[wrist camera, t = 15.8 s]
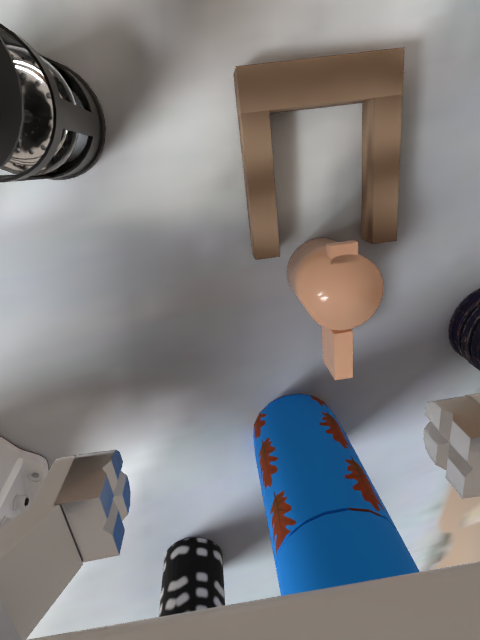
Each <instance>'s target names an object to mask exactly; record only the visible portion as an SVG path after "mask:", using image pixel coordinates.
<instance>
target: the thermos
mask: <svg viewBox="0 0 480 640" xmlns="http://www.w3.org/2000/svg"><path fill="white" fill-rule="evenodd" d="M253 437H254V446H255V456H256V462H257V468H258V473H259V478H260V484H261V489H262V495H263V500H264V506H265V511H266V516H267V522H268V527H269V533H270V538H271V543H272V549H273V554H274V560H275V565H276V568H277V569H276V570H277V576H278V581H279V587H280V592H281V596H283V595H289V594H295V593H301V592H307V591H312V590H318V589H324V588H330V587H335V586H341V585H347V584H353V583H359V582H364V581H370V580H376V579H382V578H388V577H393V576H399V575H405V574H411V573H417V572H419V570H418V568H417V566H416V564H415V562H414V560H413V559H412V557H411V555H410V553H409V551H408V549H407V547H406V546H405V544H404V542H403V540H402V538H401V536H400V534H399V532H398V531H397V529H396V527H395V525H394V523H393V521H392V519H391V518H390V516H389V514H388V512H387V510H386V508H385V506H384V505H383V503H382V501H381V499H380V497H379V495H378V493H377V491H376V490H375V488H374V486H373V484H372V482H371V480H370V478H369V477H368V475H367V473H366V471H365V469H364V467H363V465H362V464H361V462H360V460H359V458H358V456H357V454H356V452H355V450H354V449H353V447H352V445H351V443H350V441H349V439H348V437H347V436H346V434H345V432H344V430H343V428H342V427H341V425H340V424H339V422H338V421H337V419H336V417H335V416H334V414H333V413H332V411H331V410H330V409H329V408H328V406H327V405H326V404H325V403H324V402H323V401H321V400H319V399H317V398H315V397H313V396H310V395H303V394H294V395H288V396H283V397H281V398H279V399H277V400H275V401H273V402H271V403H269V404H268V405H267V406H266V407H265V408H264V409H263V410H262V411H261V412H260V413H259V416H258V418H257V420H256V422H255V424H254V435H253Z"/></svg>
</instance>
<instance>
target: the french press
mask: <svg viewBox="0 0 480 640" xmlns="http://www.w3.org/2000/svg"><path fill="white" fill-rule="evenodd" d="M70 89H71V90H72V91H73V92H74V93H75V94H76V95H77V96H78V98H79V99H80V100H81V102H82V104H83V106H84V108H85V109H83V108H81V107H79V106H77V105H76V103H75V100H74V96H73V94H72V92H71V90H70ZM105 130H106V128H105V120H104V115H103V112H102V109H101V105H100V103H99V101H98V99H97V97H96V95H95V94H94V92H93V91H92V89H91V88H90V87H89V85H88V84H87V83H86V82H85V81H84V80H83V79H82V78H81V77H80V76H79V75H78V74H76V73H75V72H73V71H72V70H71V69H69V68H68V67H66V66H64V65H61V64H59V63H57V62H54V61H53V60H50V59H48V58H46V57H44V56H42V55H40V54H39V53H37V52H36V51H35V50H34V49H33V48H32V47H31V46H30V45H29V44H28V43H27V42H26V41H24V40H23V39H22V38H21V37H19V36H18V35H16V34H15V33H13V32H12V31H11V30H9V29H8V28H6V27H5V26H3V25H2V24H0V168H1V169H3V170H5V171H8V172H11V173H13V174H18V175H0V182H12V181H24V180H36V179H52V180H66V179H70V178H75V177H77V176H79V175H81V174H83V173H85V172H86V171H87V170H89V169H90V168H91V167H92V166H93V165H94V163H95V162H96V161H97V160H98V158H99V156H100V154H101V152H102V149H103V145H104V141H105ZM78 133H81V134H85V135H89V136H88V140H87V144H86V146H85V148H84V150H83V151H82V152H81V154H80V155H79V156H78V157H77V158H75V159H74V160H72V161H70V162H68V163H66V164H63V163H64V162H65V161H66V160H67V159H68V157H69V156H70V155H71V153H72V151H73V149H74V147H75V145H76V142H77V138H78Z"/></svg>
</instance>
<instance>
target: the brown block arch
mask: <svg viewBox="0 0 480 640" xmlns="http://www.w3.org/2000/svg"><path fill="white" fill-rule="evenodd" d="M403 70H404V47H403V48H394V49H385V50H377V51H368V52H359V53H350V54H341V55H333V56H324V57H315V58H306V59H297V60H289V61H280V62H271V63H262V64H253V65H244V66H236V69H235V72H234V82H235V92H236V102H237V111H238V121H239V131H240V140H241V150H242V160H243V169H244V179H245V189H246V198H247V208H248V218H249V227H250V237H251V247H252V254H253V256H254V258H255V259H256V260H258V259H265V258H273V257H280V248H279V234H278V221H277V208H276V195H275V181H274V168H273V155H272V142H271V128H270V115H269V114H271V113H280V112H288V111H296V110H305V109H313V108H322V107H330V106H338V105H347V104H355V103H363V112H362V239H363V240H365V241H367V242H369V243H372V244H376V243H384V242H391V241H396V240H397V216H398V191H399V167H400V143H401V118H402V94H403Z"/></svg>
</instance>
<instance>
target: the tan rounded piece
mask: <svg viewBox="0 0 480 640" xmlns="http://www.w3.org/2000/svg"><path fill="white" fill-rule="evenodd" d="M287 280H288V283H289V286H290V288H291V289H292V291H293V292H294V293H295V295H296V296H297V298H298V299H299V300H300V302H301V303H302V304H303V306H304V307H305V309H306V310H307V311H308V313H309V314H310V315H311V317H312V318H313V319H314V320H315V321H316V322H317V323H318V324H320V325H321V326H322V347H323V362H324V364H325V365H326V367H327V368H328V370H329V372H330V373H331V375H332V376H333V378H334V380H341V379H347V378H353V331H352V330H351V329H352V328H355V327H357V326H359V325H361V324H362V323H364V322H365V321H367V320H368V319H369V318H370V317H371V316H372V315H373V314H374V312H375V311H376V310H377V308H378V306H379V304H380V302H381V299H382V295H383V279H382V276H381V273H380V271H379V270H378V268H377V267H376V266H375V265H374V264H373V263H372V262H371V261H370V260H368V259H367V258H365V257H363V256H361V255H359V254H358V242H357V241H355V240H351V241H343V242H336V241H334V240H332V239H328V238H316V239H312V240H309V241H307V242H305V243H304V244H302V245H301V246H300V247H298V248H297V249H296V250H295V252H294V253H293V254H292V256H291V258H290V260H289V263H288V266H287Z"/></svg>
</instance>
